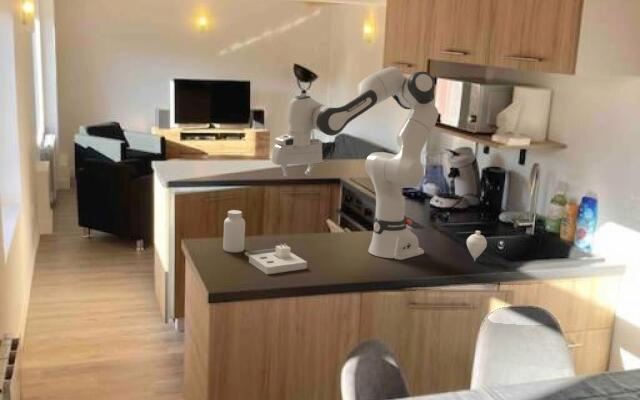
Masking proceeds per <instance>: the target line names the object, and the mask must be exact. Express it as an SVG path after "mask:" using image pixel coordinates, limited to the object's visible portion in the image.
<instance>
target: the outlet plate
mask: <svg viewBox="0 0 640 400" xmlns="http://www.w3.org/2000/svg"><path fill="white" fill-rule="evenodd" d="M248 263H249V264H251V265H252V266H254V267H255V268H257V270H258V269H259V270H260V272H263V273H264V274H266V275H272V274H279V273H285V272H286V273H287V272H293V271H298V270H305V269H308V268H307V267H308V266H307V265H308V261H307V260H305V259H304V258H301V257H300V256H297V254H295V253H293V252H291V251H290V258H285V259H278V258H277V257H275V252H272V253H264V254H257V255H249V257H248Z"/></svg>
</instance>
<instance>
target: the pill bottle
mask: <svg viewBox="0 0 640 400" xmlns="http://www.w3.org/2000/svg"><path fill="white" fill-rule="evenodd" d="M245 234H246V221H245V219H244V218H243V212H242V211H241V210H235V209H231V210H228V211H227V217H226V218H225V219H224V222H223V241H222V242H223V244H222V249H223V250H224V252H227V253H233V254H234V253H241V252H243V251H244V250H245V237H246V235H245Z"/></svg>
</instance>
